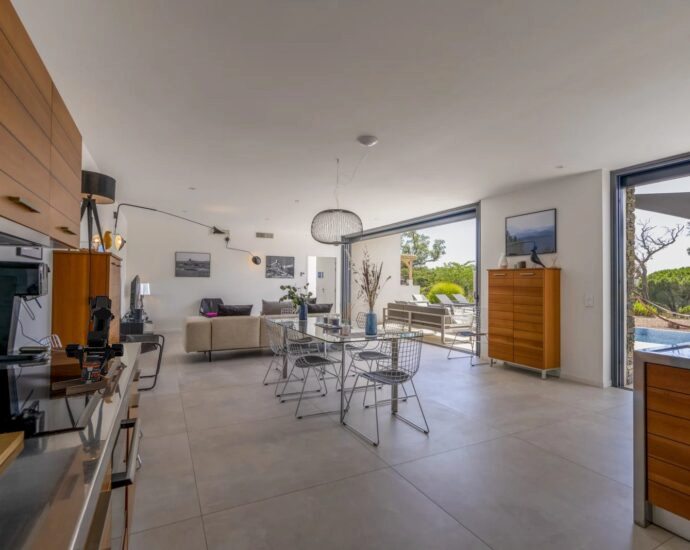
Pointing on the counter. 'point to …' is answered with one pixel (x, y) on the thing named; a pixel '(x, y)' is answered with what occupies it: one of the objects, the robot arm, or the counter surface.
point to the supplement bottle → (91, 370)
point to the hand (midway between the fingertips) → (90, 369)
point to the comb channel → (76, 386)
